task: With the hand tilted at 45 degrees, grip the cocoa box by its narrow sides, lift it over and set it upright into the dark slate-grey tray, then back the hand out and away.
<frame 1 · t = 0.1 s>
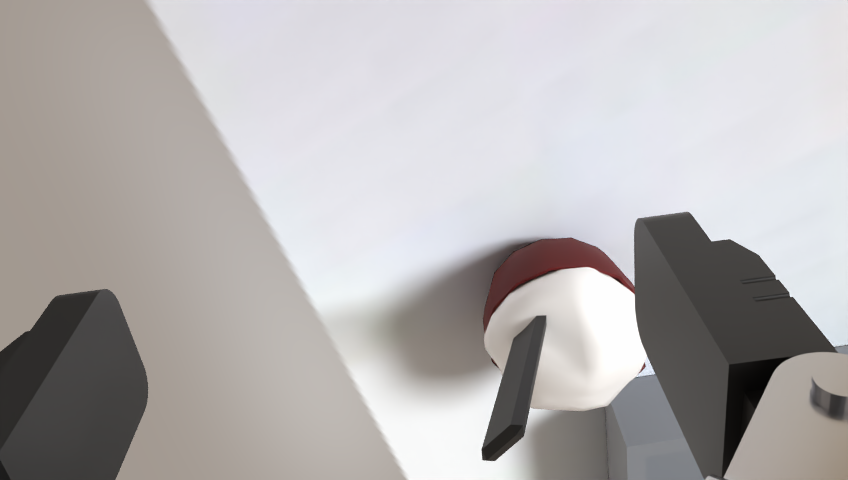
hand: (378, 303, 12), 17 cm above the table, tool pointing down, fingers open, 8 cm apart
dock tray: (742, 439, 39), on the table
cocoa: (545, 271, 33), on the table
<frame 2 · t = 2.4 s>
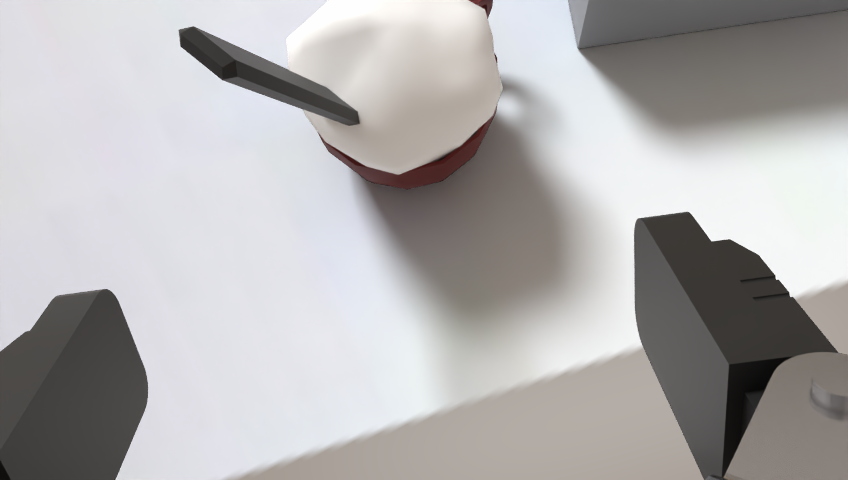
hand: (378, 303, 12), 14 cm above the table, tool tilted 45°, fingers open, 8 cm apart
cocoa: (403, 132, 28), on the table
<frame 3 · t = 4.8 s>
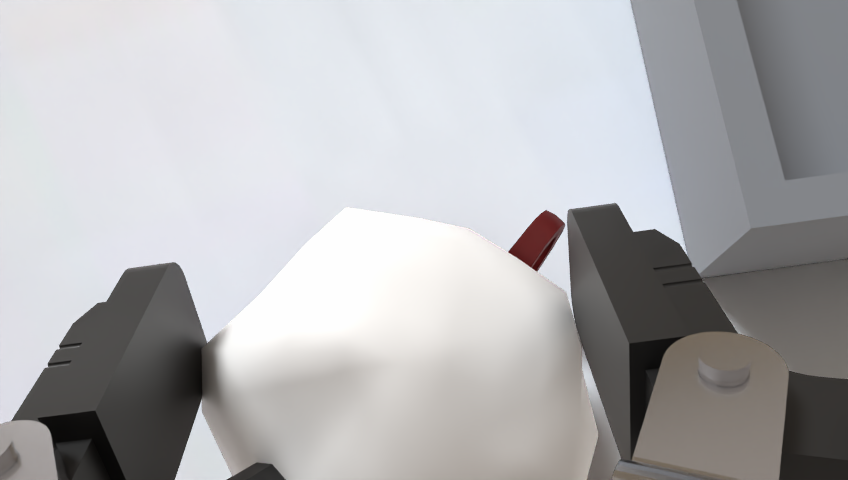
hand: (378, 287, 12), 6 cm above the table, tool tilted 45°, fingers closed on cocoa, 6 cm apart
cocoa: (413, 414, 18), on the table, touching gripper
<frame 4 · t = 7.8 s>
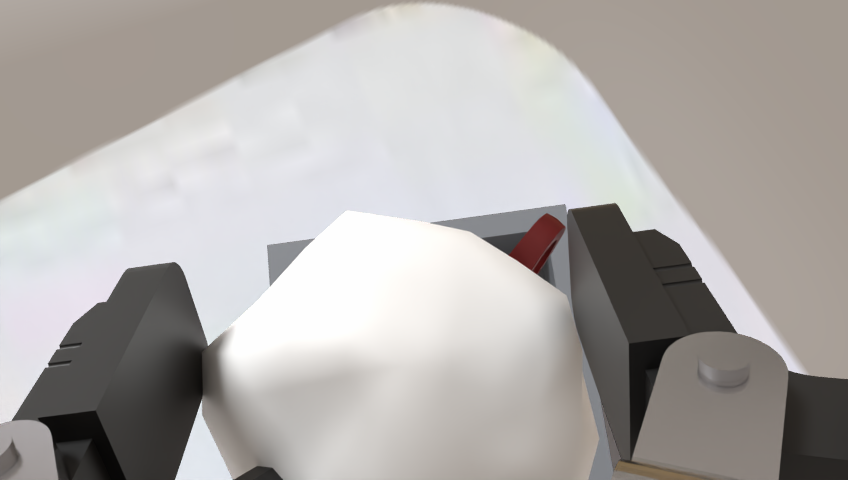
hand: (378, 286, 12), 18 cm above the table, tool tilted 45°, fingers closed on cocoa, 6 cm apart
dock tray: (445, 426, 29), on the table
cocoa: (413, 417, 18), point 12 cm above the table, touching gripper
when the fingers open (8 cm above the table, at t = 10.7 s): cocoa drops 1 cm, resting on dock tray.
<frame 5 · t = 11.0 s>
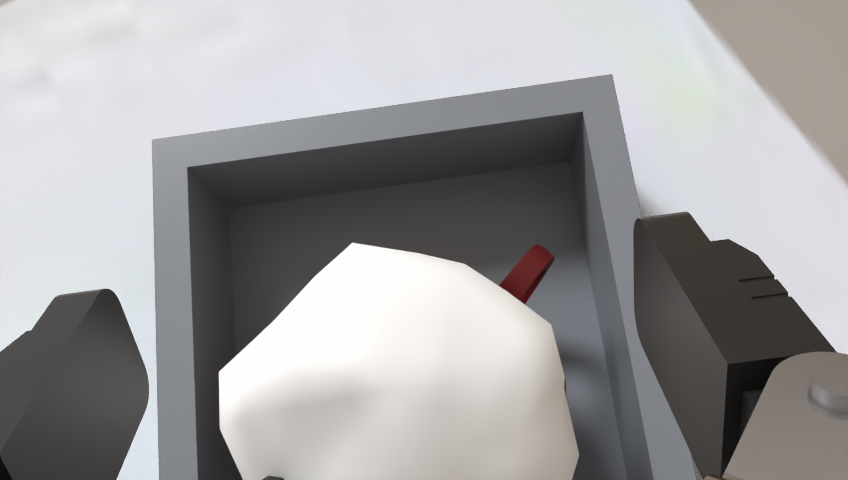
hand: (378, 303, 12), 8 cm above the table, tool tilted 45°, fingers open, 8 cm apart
dock tray: (427, 420, 20), on the table
cocoa: (412, 428, 19), point 1 cm above the table, touching dock tray
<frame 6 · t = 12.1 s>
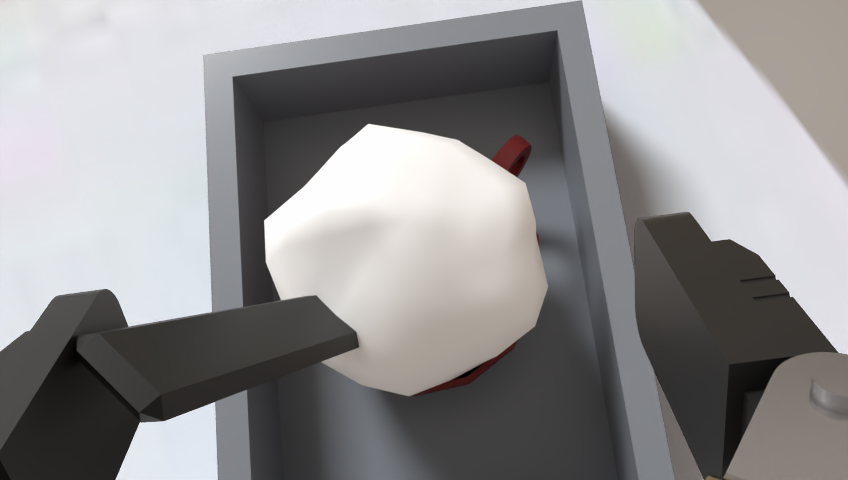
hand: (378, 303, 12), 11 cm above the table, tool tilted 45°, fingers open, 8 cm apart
dock tray: (429, 296, 23), on the table
cocoa: (415, 299, 23), point 1 cm above the table, touching dock tray, gripper
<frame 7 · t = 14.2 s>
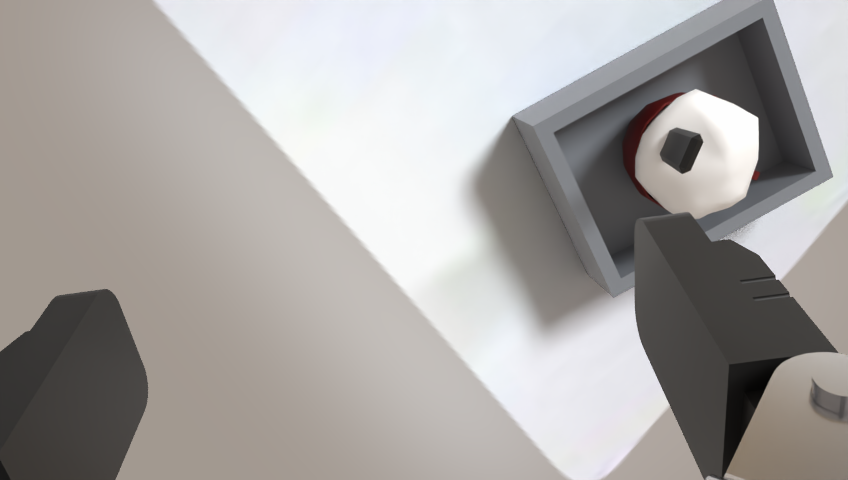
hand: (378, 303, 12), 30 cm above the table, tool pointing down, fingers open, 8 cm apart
dock tray: (655, 140, 44), on the table
cocoa: (656, 139, 44), point 1 cm above the table, touching dock tray
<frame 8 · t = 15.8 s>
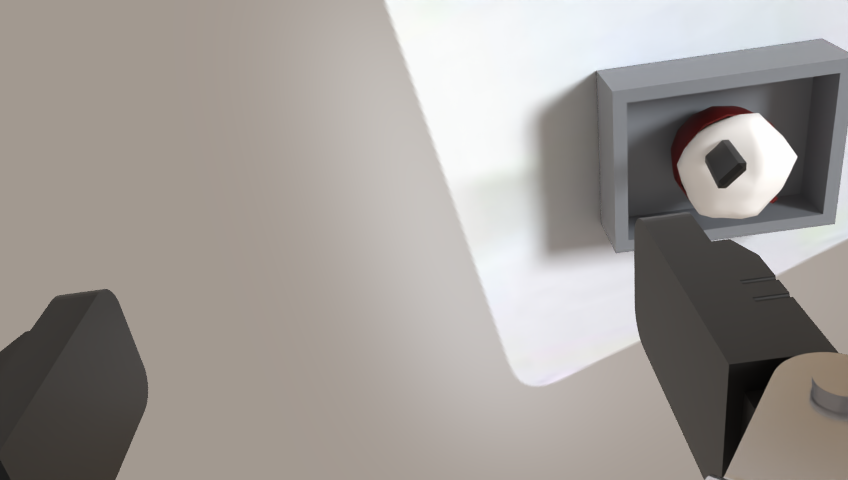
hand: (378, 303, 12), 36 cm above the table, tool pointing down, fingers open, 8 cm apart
dock tray: (705, 136, 50), on the table
cocoa: (706, 136, 49), point 1 cm above the table, touching dock tray
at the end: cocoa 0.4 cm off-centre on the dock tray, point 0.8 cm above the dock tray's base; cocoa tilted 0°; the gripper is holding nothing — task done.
